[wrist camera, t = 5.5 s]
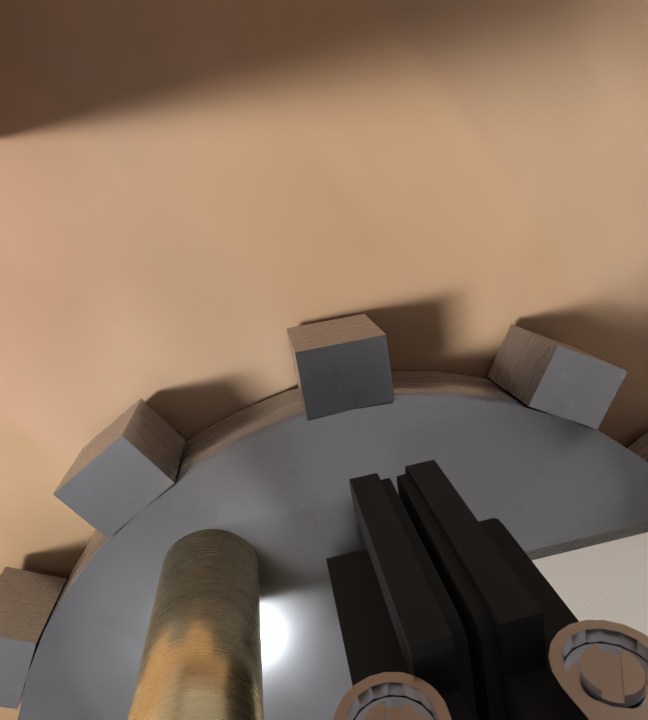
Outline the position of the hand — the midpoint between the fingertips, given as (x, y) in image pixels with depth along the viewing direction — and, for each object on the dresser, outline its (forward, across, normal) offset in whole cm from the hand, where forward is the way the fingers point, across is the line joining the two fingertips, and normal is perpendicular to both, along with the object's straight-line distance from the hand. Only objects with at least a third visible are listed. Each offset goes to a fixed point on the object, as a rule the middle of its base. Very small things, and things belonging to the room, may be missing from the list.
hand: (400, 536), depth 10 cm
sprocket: (+4, 0, +7) cm, 8 cm away
